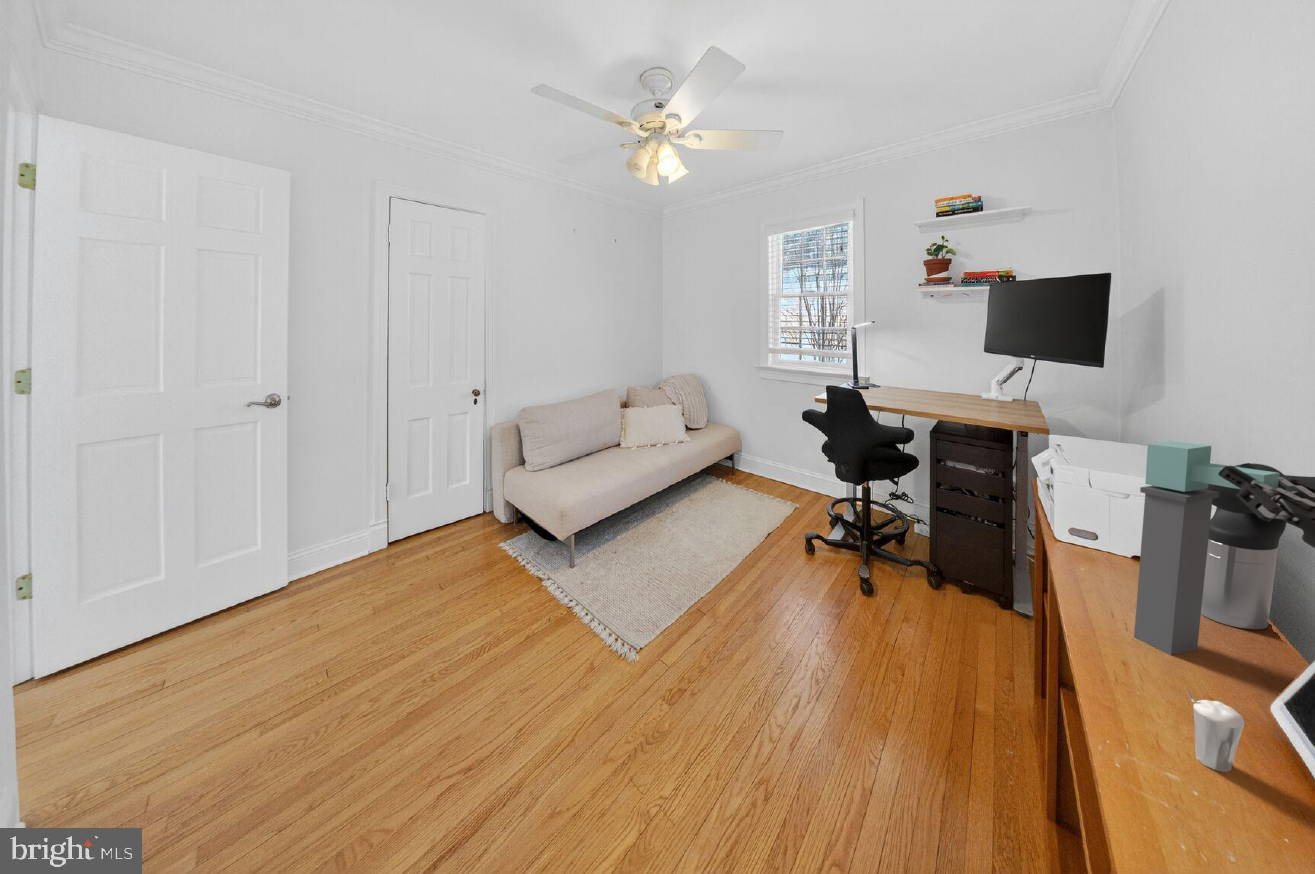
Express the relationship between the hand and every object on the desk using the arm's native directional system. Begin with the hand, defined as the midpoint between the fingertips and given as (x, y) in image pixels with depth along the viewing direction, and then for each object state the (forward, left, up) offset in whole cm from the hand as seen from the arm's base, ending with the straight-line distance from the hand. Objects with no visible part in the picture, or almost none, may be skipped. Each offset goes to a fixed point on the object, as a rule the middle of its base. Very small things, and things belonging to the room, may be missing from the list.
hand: (1233, 468), depth 77 cm
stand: (-6, -4, -38) cm, 38 cm away
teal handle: (-2, -2, -5) cm, 6 cm away
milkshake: (+26, -11, -38) cm, 47 cm away
